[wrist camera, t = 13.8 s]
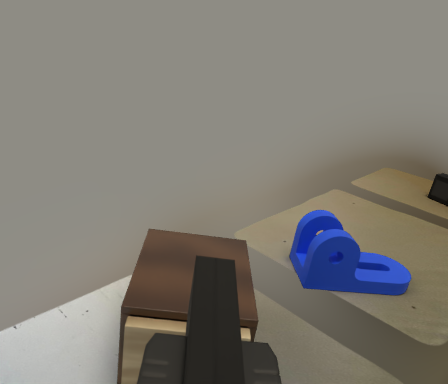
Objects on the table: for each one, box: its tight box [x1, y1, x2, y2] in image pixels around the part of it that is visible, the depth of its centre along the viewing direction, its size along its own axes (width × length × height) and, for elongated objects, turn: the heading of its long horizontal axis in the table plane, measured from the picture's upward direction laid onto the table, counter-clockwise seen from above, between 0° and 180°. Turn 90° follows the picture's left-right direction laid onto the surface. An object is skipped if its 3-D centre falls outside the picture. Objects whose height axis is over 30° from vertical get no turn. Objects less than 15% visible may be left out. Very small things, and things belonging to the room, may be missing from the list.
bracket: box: [290, 210, 411, 295], centre depth 56 cm, size 18×8×9 cm, turn 94°
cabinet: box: [117, 229, 258, 384], centre depth 39 cm, size 14×12×10 cm
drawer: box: [121, 315, 251, 384], centre depth 35 cm, size 17×10×8 cm, turn 1°
